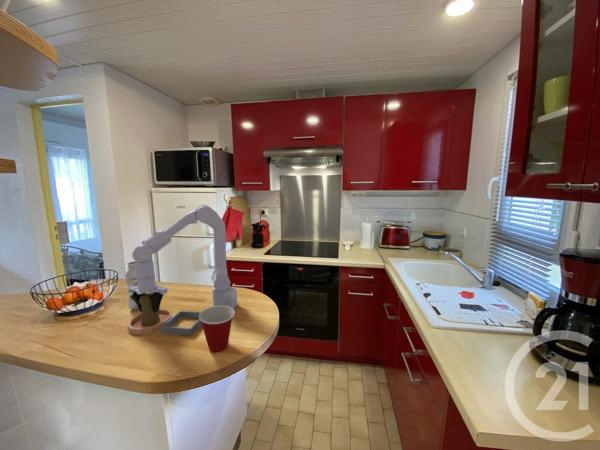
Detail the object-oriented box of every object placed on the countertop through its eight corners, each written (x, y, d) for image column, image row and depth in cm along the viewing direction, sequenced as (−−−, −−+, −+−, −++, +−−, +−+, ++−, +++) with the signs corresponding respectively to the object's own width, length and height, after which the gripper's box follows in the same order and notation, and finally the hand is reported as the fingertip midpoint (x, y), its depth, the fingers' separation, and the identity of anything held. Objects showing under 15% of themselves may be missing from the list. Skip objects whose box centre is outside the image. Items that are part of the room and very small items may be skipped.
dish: (179, 314, 97) (179, 309, 96) (154, 335, 83) (154, 330, 82) (148, 312, 98) (147, 307, 98) (118, 332, 84) (117, 327, 84)
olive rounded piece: (150, 327, 86) (146, 299, 85) (137, 325, 88) (133, 297, 86) (163, 318, 92) (160, 292, 90) (151, 317, 94) (147, 290, 92)
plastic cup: (237, 354, 73) (235, 318, 71) (199, 362, 70) (196, 324, 68) (236, 334, 84) (234, 302, 82) (203, 339, 81) (200, 306, 79)
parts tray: (207, 318, 94) (206, 312, 93) (191, 335, 83) (190, 329, 82) (180, 316, 95) (180, 310, 95) (161, 333, 84) (160, 327, 84)
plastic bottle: (127, 313, 98) (121, 266, 94) (130, 306, 103) (124, 261, 100) (146, 309, 100) (141, 264, 97) (147, 302, 106) (143, 259, 103)
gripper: (118, 279, 84) (123, 315, 87) (156, 281, 83) (160, 317, 85) (134, 272, 91) (138, 305, 94) (169, 274, 90) (172, 307, 92)
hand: (149, 310), depth 90 cm, fingers closed on olive rounded piece, 5 cm apart
